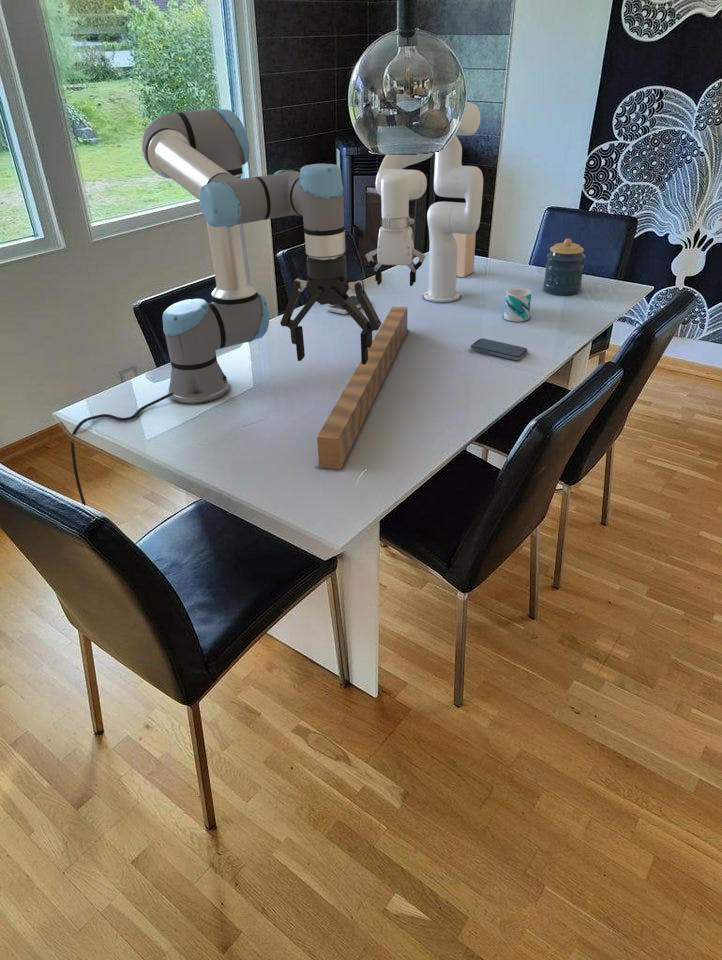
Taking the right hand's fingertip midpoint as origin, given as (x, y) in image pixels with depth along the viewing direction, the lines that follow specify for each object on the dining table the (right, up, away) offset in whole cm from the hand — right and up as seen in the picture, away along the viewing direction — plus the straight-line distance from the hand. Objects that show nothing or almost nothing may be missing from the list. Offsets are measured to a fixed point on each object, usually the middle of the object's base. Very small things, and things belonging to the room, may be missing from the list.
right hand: (395, 284), depth 196 cm
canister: (+61, +10, +43) cm, 75 cm away
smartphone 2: (+30, -21, -3) cm, 36 cm away
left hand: (-16, -33, -58) cm, 69 cm away
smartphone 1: (-14, +2, +35) cm, 38 cm away
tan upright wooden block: (+29, +24, +66) cm, 76 cm away
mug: (+41, -4, +22) cm, 47 cm away
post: (-7, -32, -19) cm, 38 cm away
